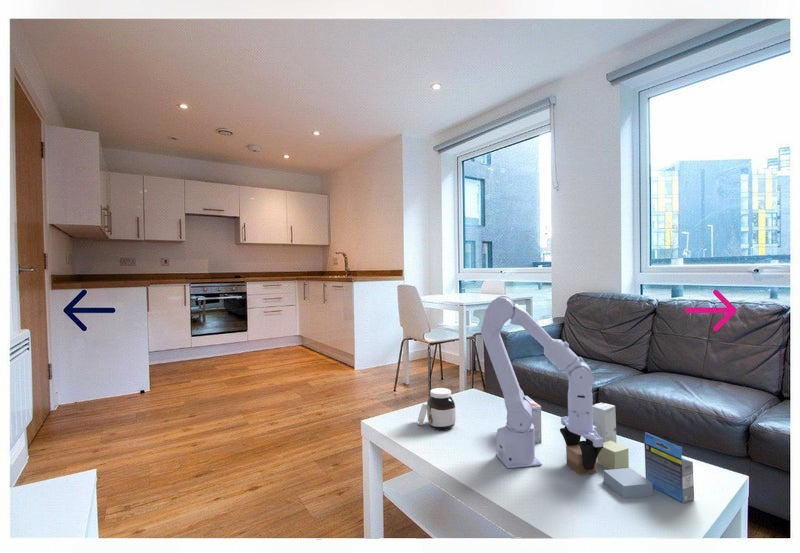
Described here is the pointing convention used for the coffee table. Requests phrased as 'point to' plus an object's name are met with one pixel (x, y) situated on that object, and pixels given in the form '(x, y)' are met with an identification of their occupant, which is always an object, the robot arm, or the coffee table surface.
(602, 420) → the skincare box
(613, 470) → the base slab
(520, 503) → the coffee table surface
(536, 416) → the light bulb box
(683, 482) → the label tape box
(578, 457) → the walnut cube
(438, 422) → the spread jar
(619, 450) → the olive cube
